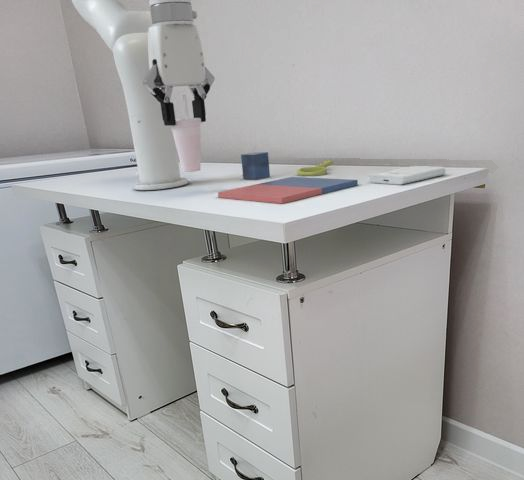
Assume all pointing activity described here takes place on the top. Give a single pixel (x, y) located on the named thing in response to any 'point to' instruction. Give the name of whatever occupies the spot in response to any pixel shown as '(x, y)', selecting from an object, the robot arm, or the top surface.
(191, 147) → the smoothie
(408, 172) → the hard drive
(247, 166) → the blue block
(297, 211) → the top surface
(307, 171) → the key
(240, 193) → the board
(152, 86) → the robot arm
